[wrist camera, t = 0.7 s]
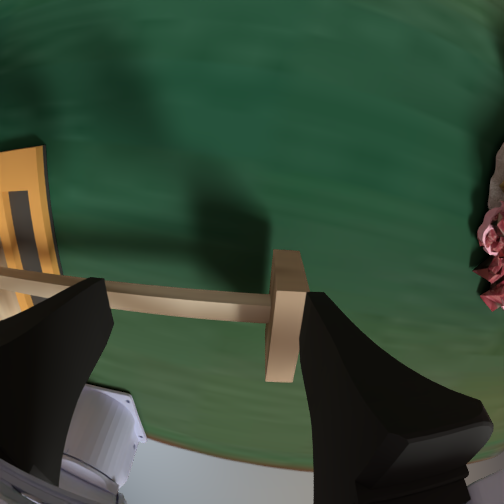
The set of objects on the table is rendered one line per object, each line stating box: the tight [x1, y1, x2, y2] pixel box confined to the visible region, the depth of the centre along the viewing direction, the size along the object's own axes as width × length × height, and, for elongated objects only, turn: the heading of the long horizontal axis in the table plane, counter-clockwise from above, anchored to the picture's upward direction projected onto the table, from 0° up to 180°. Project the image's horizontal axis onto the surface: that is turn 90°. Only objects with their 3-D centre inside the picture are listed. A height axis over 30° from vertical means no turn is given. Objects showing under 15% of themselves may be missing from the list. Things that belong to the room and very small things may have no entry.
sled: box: [0, 237, 310, 382], centre depth 18 cm, size 13×25×6 cm, turn 87°
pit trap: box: [0, 145, 63, 312], centre depth 21 cm, size 18×6×1 cm, turn 177°
